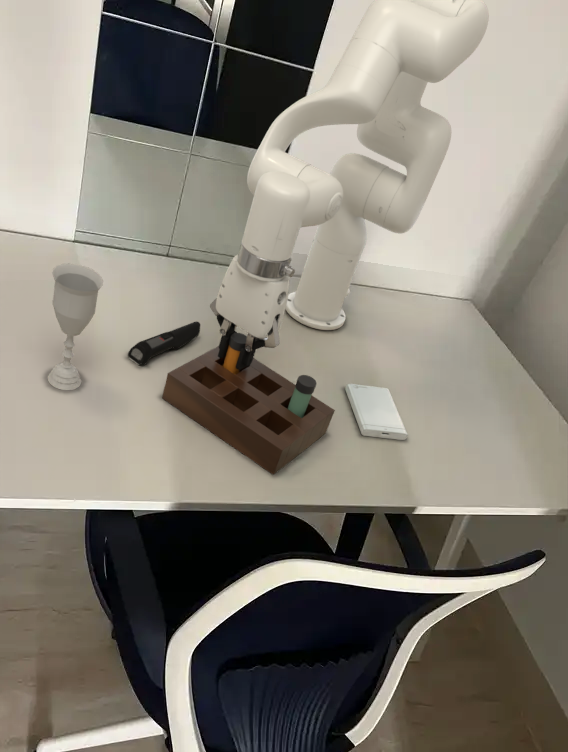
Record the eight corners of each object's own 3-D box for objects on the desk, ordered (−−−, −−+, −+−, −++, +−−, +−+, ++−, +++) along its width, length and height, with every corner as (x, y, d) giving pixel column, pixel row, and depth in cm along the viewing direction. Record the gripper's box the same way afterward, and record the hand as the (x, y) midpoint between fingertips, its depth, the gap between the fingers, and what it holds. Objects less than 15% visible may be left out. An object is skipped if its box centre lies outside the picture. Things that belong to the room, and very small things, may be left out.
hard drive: (347, 382, 140) (364, 428, 131) (389, 388, 142) (409, 433, 133) (344, 390, 141) (361, 435, 132) (386, 395, 143) (405, 440, 134)
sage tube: (286, 421, 129) (304, 372, 123) (301, 431, 128) (320, 382, 122) (276, 428, 127) (294, 379, 121) (291, 438, 126) (310, 389, 120)
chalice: (97, 387, 122) (113, 285, 111) (60, 399, 118) (73, 295, 106) (68, 361, 125) (81, 259, 114) (31, 372, 121) (41, 268, 109)
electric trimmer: (203, 341, 140) (207, 326, 138) (141, 368, 129) (145, 352, 127) (187, 331, 141) (191, 315, 139) (125, 356, 130) (128, 340, 128)
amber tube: (223, 380, 133) (238, 330, 127) (237, 389, 132) (253, 339, 126) (213, 386, 131) (227, 336, 124) (227, 395, 130) (242, 345, 124)
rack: (220, 365, 136) (227, 341, 133) (325, 433, 130) (335, 410, 126) (161, 398, 125) (167, 372, 122) (273, 475, 118) (282, 450, 115)
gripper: (321, 279, 117) (286, 378, 128) (234, 228, 121) (208, 328, 133) (294, 293, 111) (260, 395, 123) (205, 239, 116) (180, 343, 128)
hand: (233, 359), depth 128 cm, fingers closed on amber tube, 3 cm apart
